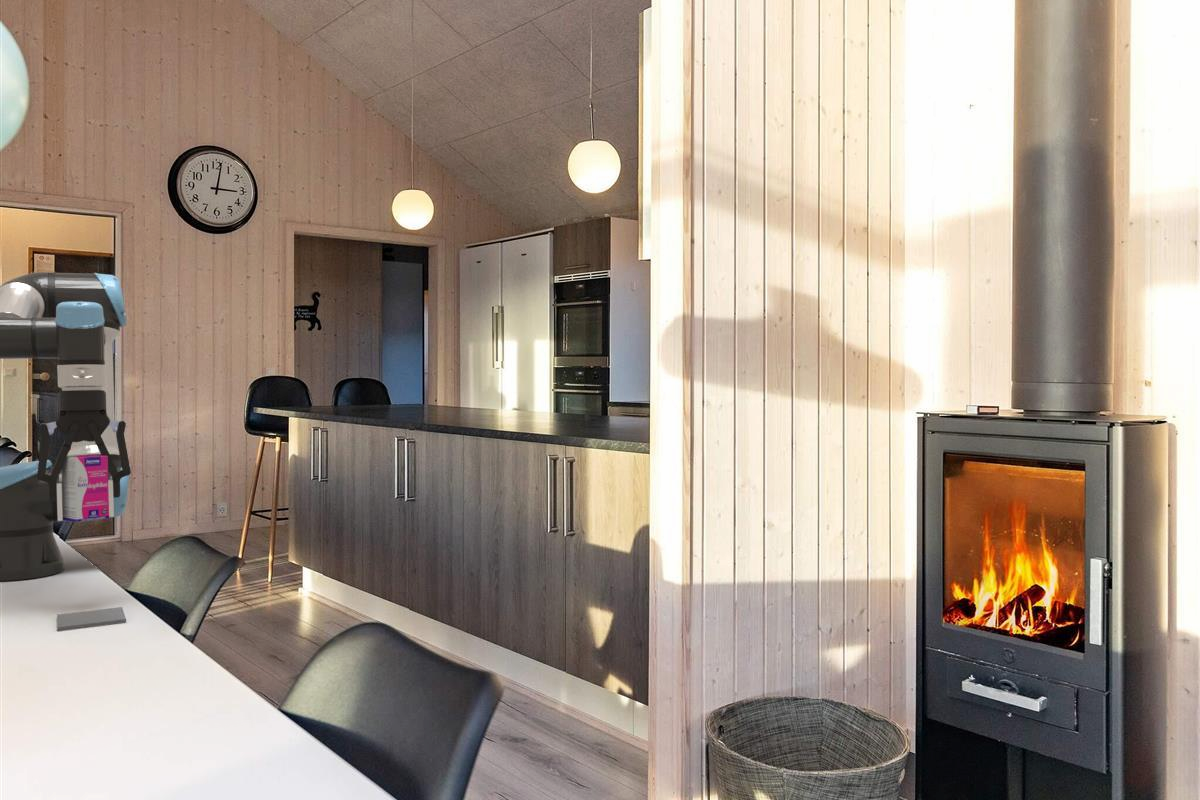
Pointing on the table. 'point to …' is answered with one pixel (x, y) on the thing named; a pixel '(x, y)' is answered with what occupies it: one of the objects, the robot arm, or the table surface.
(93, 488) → the supplement box
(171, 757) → the table surface
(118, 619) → the slate coaster
